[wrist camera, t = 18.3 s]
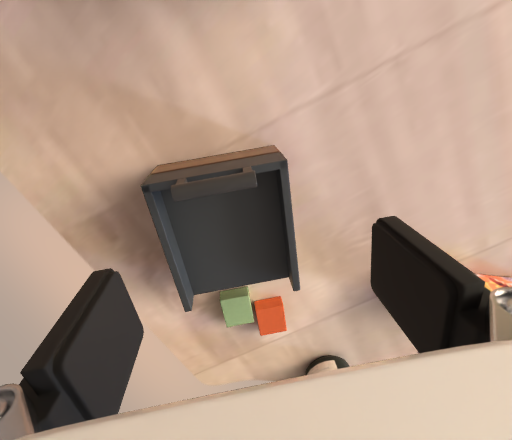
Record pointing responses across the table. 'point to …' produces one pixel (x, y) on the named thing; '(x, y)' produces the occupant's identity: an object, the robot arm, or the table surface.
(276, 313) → the tea pack
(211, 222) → the tray
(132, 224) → the table surface
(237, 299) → the tea pack
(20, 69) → the table surface
